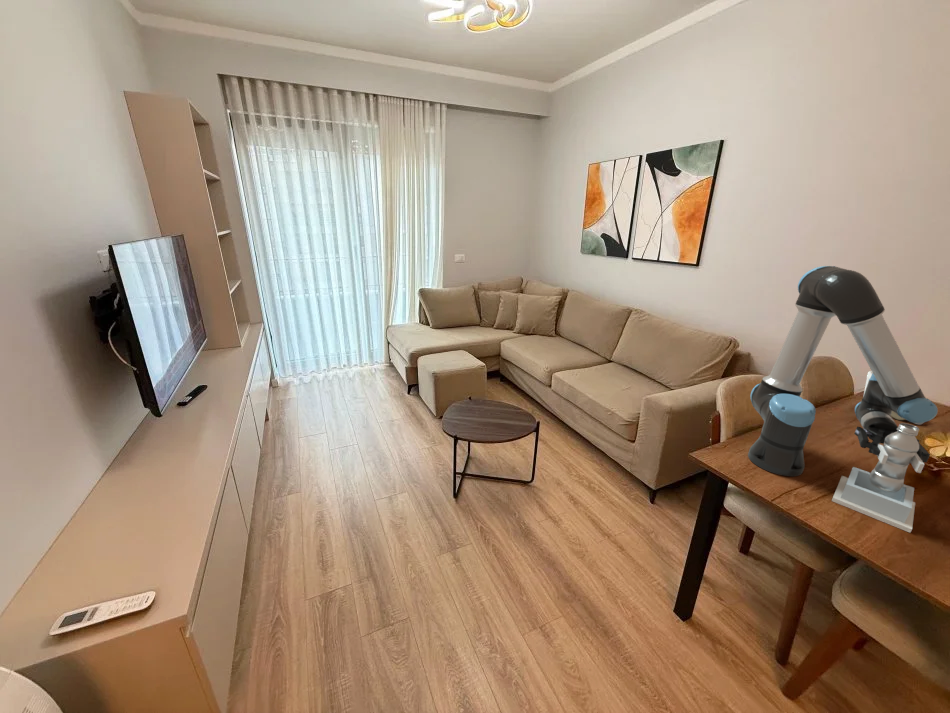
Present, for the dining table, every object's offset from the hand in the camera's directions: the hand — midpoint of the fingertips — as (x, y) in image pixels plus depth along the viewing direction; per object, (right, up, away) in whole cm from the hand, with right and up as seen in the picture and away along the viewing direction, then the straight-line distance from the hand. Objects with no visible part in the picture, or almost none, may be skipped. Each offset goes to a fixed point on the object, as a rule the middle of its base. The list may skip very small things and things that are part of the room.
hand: (902, 463), depth 103 cm
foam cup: (+70, +8, +76) cm, 104 cm away
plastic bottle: (+3, -9, +8) cm, 12 cm away
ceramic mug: (+67, +2, +59) cm, 89 cm away
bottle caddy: (+2, -14, +10) cm, 18 cm away
